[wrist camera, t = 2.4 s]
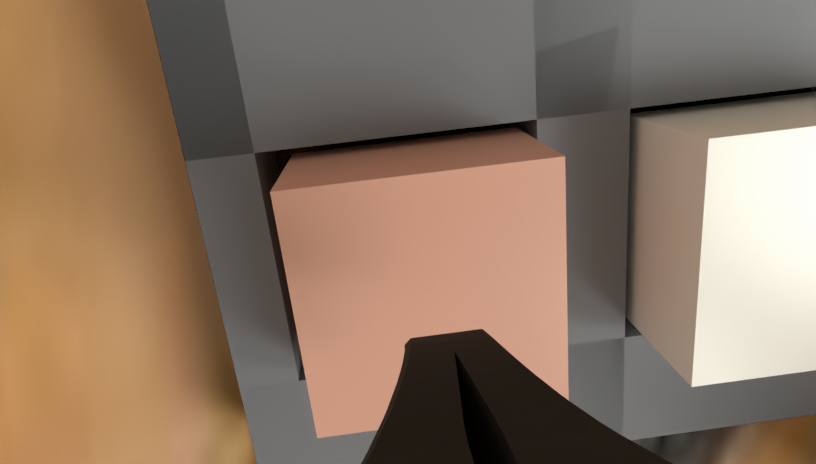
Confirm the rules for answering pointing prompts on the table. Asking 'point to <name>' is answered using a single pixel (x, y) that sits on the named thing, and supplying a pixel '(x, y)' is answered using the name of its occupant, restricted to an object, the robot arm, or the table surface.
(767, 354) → the cream key
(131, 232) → the table surface
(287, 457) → the key console
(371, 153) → the terracotta key
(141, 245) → the table surface
